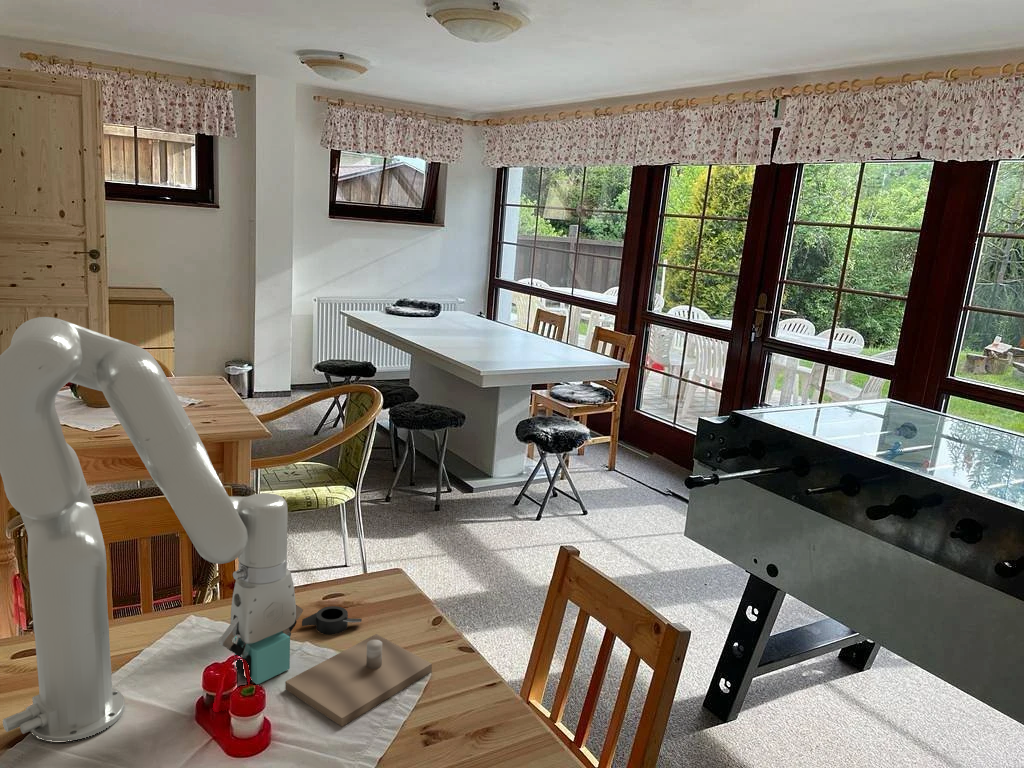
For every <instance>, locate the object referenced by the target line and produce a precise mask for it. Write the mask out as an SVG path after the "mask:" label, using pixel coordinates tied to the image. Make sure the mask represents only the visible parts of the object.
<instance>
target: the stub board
mask: <svg viewBox="0 0 1024 768" xmlns="http://www.w3.org/2000/svg"><path fill="white" fill-rule="evenodd" d="M432 669H433V663H432V662H429V661H428V660H427V659H424V658H422V657H421V656H419V655H416V654H415V653H413V652H411V651H409V650H407V649H405V648H404V647H401V646H399V645H398V644H396V643H394V642H392V641H391V640H388V639H387V638H385V637H383V636H381V635H379V634H377V633H376V634H373V635H372V636H369V637H368V638H366V639H364V640H362V641H359V642H358V643H357V644H354V645H353V646H351V647H348V648H347V649H344V650H343V651H340V652H339V653H336V654H335V655H333V656H331V657H329V658H327V659H325V660H324V661H322V662H320V663H318V664H315V665H313V666H312V667H310V668H308V669H307V670H304V671H303V672H301V673H299V674H297V675H295V676H293V677H291V678H289V679H287V680H285V682H284V683H285V687H284V689H285V690H286V691H287V692H288V693H290V694H292V695H294V696H295V697H296V698H298V699H299V700H301V701H302V702H303V703H305V704H307V705H308V706H309V707H311V708H313V709H314V710H316V711H317V712H319V713H321V714H322V715H324V716H325V717H327V718H328V719H330V720H331V721H333V722H334V723H335V724H337V725H339V726H340V727H344V726H346V725H347V724H348V723H350V722H352V721H354V720H355V719H357V718H358V717H360V716H362V715H363V714H366V713H367V712H369V711H370V710H371V709H373V708H375V707H377V706H378V705H380V704H381V703H383V702H385V701H386V700H387V699H389V698H390V697H391V698H392V697H393V696H394V695H396V694H398V693H399V692H400V691H403V689H406V688H407V687H409V686H411V684H414V683H415V682H417V681H419V680H420V679H422V678H423V677H425V676H427V675H428V674H430V673H432V672H433V671H432Z"/></svg>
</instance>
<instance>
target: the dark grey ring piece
mask: <svg viewBox="0 0 1024 768" xmlns="http://www.w3.org/2000/svg"><path fill="white" fill-rule="evenodd" d="M348 613H349V612H348V610H347V609H346V608H345V607H341V606H336V605H331V606H325V607H323V608H321V609H319V610H318V611H316V612H315V613H313V614H311V615H309V616H307V617H305V618H302V620H301V627H305V626H315V627H316V628H315V629H316V631H317V632H318V633H320V634H322V635H327V636H333V635H334V636H335V635H340V634H341V633H343V632H345V631H346V630H347V628H348V626H349V625H348V623H362V618H349V617H348Z"/></svg>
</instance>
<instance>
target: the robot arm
mask: <svg viewBox="0 0 1024 768" xmlns="http://www.w3.org/2000/svg"><path fill="white" fill-rule="evenodd" d="M68 383H71V384H74V385H78V386H81V387H85V388H87V389H92V390H94V391H95V390H96V391H99V392H102V393H103V396H104V398H105V400H106V401H107V403H108V405H109V407H110V408H111V410H112V411H113V414H114V416H115V417H116V419H117V421H118V422H119V424H120V425H121V426H122V429H123V430H124V432H125V433H126V435H127V437H128V438H129V441H130V443H131V444H132V446H133V447H134V449H135V451H136V453H137V454H138V456H139V458H140V460H141V462H142V463H143V464H144V466H145V468H146V470H147V472H148V474H149V476H151V479H153V481H154V483H155V484H156V486H157V487H158V488H159V489H160V491H161V493H163V495H164V496H165V497H164V498H166V500H167V501H168V503H169V505H170V506H171V508H172V510H173V512H174V513H175V515H176V517H177V518H178V520H179V522H180V524H181V526H182V528H183V529H184V530H185V532H186V534H187V536H188V537H189V539H190V541H191V543H192V544H193V547H194V548H195V549H196V552H197V553H198V554H199V556H200V557H202V558H203V559H204V560H205V561H207V562H209V563H212V564H217V565H221V564H222V565H223V564H227V563H231V562H232V561H235V560H236V559H238V557H239V561H238V569H237V570H236V571H233V573H232V577H233V579H234V580H235V583H234V588H233V591H232V599H231V607H230V624H229V625H228V627H227V629H226V630H225V631H224V632H223V634H222V635H221V637H220V638H219V639H218V644H219V645H221V646H222V647H224V648H226V649H227V650H229V651H231V652H232V653H234V655H235V654H236V655H238V656H240V657H242V658H243V659H245V660H246V661H247V663H248V665H249V670H250V677H251V656H250V655H248V654H249V651H250V648H251V646H252V644H253V643H256V642H258V641H260V640H263V639H265V638H267V637H270V636H272V635H274V634H276V633H278V632H283V633H284V634H286V635H288V636H289V637H290V638H291V636H292V631H293V629H294V628H295V626H296V624H297V621H298V620H299V618H300V616H301V615H302V613H303V612H304V609H303V608H302V607H300V605H297V604H296V593H295V585H294V581H293V575H292V572H291V570H289V569H288V568H287V566H288V565H287V562H288V559H287V558H288V503H287V501H286V499H285V498H284V497H282V496H281V495H279V494H275V493H271V492H270V493H267V492H266V493H265V492H264V493H263V492H262V493H255V494H251V495H248V496H231V495H230V496H229V494H228V492H227V491H226V488H225V487H224V485H223V484H222V481H221V480H220V478H219V476H218V473H217V471H216V469H215V468H214V466H213V464H212V461H211V459H210V456H209V454H208V451H207V449H206V447H205V445H204V443H203V442H202V440H201V438H200V436H199V433H198V432H197V430H196V427H194V425H193V423H192V421H191V420H190V417H189V416H188V414H187V412H186V410H185V409H184V406H183V405H182V403H181V401H180V400H179V397H178V395H177V393H176V391H175V390H174V388H173V386H172V384H171V382H170V380H169V378H168V377H167V376H166V374H165V372H164V370H163V368H162V366H161V365H160V364H159V362H158V361H157V360H156V359H155V357H154V356H153V355H152V354H151V353H150V352H149V351H148V350H146V349H145V348H142V347H140V346H138V345H135V344H132V343H130V342H127V341H123V340H121V339H118V338H115V337H112V336H109V335H106V334H103V333H101V332H97V331H96V330H93V329H90V328H87V327H83V326H81V325H77V324H76V323H73V322H69V321H67V320H63V319H61V318H56V317H53V316H52V317H50V316H39V317H34V318H31V319H28V320H26V321H24V322H23V323H22V324H21V325H19V326H18V327H17V329H16V330H15V332H14V333H13V335H12V338H11V342H10V345H9V346H8V348H6V349H5V350H4V351H3V352H1V354H0V477H1V480H2V482H3V483H2V484H3V489H4V492H5V496H6V498H7V499H8V501H9V503H10V504H11V506H12V508H14V510H15V511H16V512H18V513H19V514H20V517H21V520H22V523H23V524H24V527H25V531H26V534H27V540H28V541H27V571H28V573H27V574H28V581H29V582H28V583H29V591H30V597H31V598H30V601H31V609H32V610H31V611H32V612H31V613H32V622H33V623H32V625H33V632H34V641H35V643H34V644H35V655H36V666H37V677H38V678H37V679H38V690H39V693H38V694H37V695H34V696H32V704H31V705H29V706H26V708H25V710H23V711H20V712H18V713H15V714H12V715H10V716H7V717H6V718H3V719H2V727H3V728H4V731H5V732H6V733H7V732H8V733H9V732H11V731H13V730H15V729H17V728H19V729H20V732H21V733H22V734H23V735H24V734H26V733H28V732H30V733H31V732H32V733H33V734H34V735H35V736H38V737H39V738H42V739H44V740H52V741H68V740H69V741H70V740H76V739H81V738H85V739H87V738H86V737H88V738H90V737H89V736H91V737H93V736H92V735H94V736H96V735H97V734H96V733H98V734H100V733H102V732H103V730H104V731H105V730H106V728H107V729H108V728H110V727H111V726H112V725H114V724H115V723H117V722H118V720H119V719H120V718H119V717H121V716H122V715H123V713H124V711H125V697H124V695H123V694H122V692H120V690H118V689H116V688H113V678H112V663H111V662H112V660H111V659H112V658H111V644H110V642H111V641H110V628H109V627H110V626H109V624H110V623H109V612H108V611H109V610H108V596H107V595H108V594H107V593H108V592H107V591H108V590H107V585H108V584H107V575H108V574H107V572H108V571H107V567H108V566H107V563H108V562H107V554H106V553H107V552H106V546H105V540H104V538H103V533H102V530H101V525H100V521H99V517H98V514H97V512H96V509H95V506H94V502H93V500H92V497H91V493H90V490H89V486H88V484H87V482H86V478H85V476H84V473H83V470H82V469H83V468H82V466H81V464H80V463H81V462H80V459H79V457H78V455H77V453H76V451H75V450H74V448H73V447H72V446H71V445H70V444H69V443H67V441H66V438H65V436H64V433H63V429H62V425H61V421H60V418H59V415H58V411H57V409H56V399H57V396H58V393H59V392H60V390H61V389H63V387H64V386H66V384H67V385H68ZM236 636H237V638H236V641H235V640H233V639H235V637H236ZM243 642H245V643H244V645H243V648H242V647H241V646H242V644H243ZM236 667H237V670H238V672H237V673H238V674H239V675H241V676H242V677H244V678H245V676H244V669H243V662H242V660H240V659H239V660H237V662H236ZM237 670H236V671H237ZM121 714H122V715H121ZM109 726H110V727H109ZM101 731H102V732H101ZM99 732H100V733H99ZM32 733H31V734H32ZM95 734H96V735H95ZM35 736H34V737H35Z"/></svg>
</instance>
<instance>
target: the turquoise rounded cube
mask: <svg viewBox="0 0 1024 768" xmlns="http://www.w3.org/2000/svg"><path fill="white" fill-rule="evenodd" d="M236 638H237V635H235V637H234V642H235V641H236ZM244 643H245V642H243V644H242V646H241V647H242V648H243V645H244ZM235 655H236V654H235V653H234V656H235ZM248 655H250V656H251V679H252V681H251V682H253V683H255V684H256V685H257V684H258V685H259V684H261V683H264V682H265V681H268V680H270V679H272V678H274V677H276V676H277V675H281V674H282V673H284V672H287V671H288V670H290V668H291V667H290V666H291V665H290V664H291V661H290V660H291V636H290V637H289V636H288V635H286V634H284V633H283V632H278V633H276V634H274V635H272V636H270V637H267V638H265V639H263V640H260V641H258V642H256V643H253V644H252V646H251V648H250V651H249V654H248Z"/></svg>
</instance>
